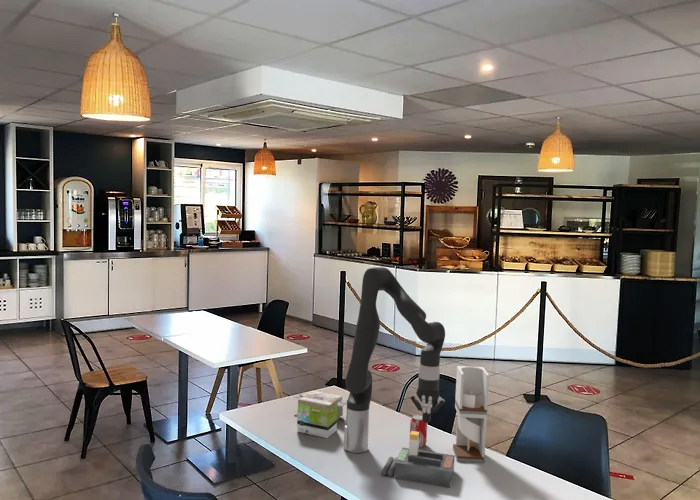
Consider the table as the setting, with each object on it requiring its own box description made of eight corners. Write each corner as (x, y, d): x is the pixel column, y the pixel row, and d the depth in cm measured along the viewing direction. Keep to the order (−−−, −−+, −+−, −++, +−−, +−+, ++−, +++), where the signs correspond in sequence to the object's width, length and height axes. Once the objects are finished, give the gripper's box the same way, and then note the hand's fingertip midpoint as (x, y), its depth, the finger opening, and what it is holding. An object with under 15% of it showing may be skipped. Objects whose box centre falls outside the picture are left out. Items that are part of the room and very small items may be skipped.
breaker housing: (394, 478, 211) (395, 458, 211) (401, 462, 224) (402, 443, 224) (449, 487, 206) (450, 467, 205) (453, 470, 219) (454, 451, 218)
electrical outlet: (339, 425, 258) (338, 403, 258) (290, 415, 275) (290, 394, 274) (354, 418, 268) (353, 397, 267) (306, 408, 284) (305, 388, 284)
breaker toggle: (408, 457, 215) (409, 434, 214) (410, 454, 218) (411, 430, 217) (416, 458, 214) (417, 435, 213) (418, 455, 217) (419, 431, 216)
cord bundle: (380, 476, 212) (381, 470, 212) (389, 460, 226) (389, 455, 226) (392, 477, 211) (392, 472, 211) (399, 462, 225) (399, 457, 225)
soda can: (425, 449, 238) (426, 420, 237) (408, 447, 239) (409, 419, 238) (426, 442, 245) (428, 414, 244) (410, 440, 246) (411, 413, 245)
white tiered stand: (452, 448, 239) (457, 365, 236) (478, 450, 239) (483, 367, 236) (457, 461, 228) (461, 373, 225) (484, 462, 227) (489, 375, 225)
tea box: (296, 432, 250) (297, 399, 249) (306, 424, 260) (307, 392, 258) (327, 439, 245) (329, 404, 244) (337, 430, 254) (338, 397, 253)
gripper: (448, 376, 214) (445, 421, 215) (413, 371, 218) (410, 416, 219) (445, 381, 207) (442, 428, 208) (409, 376, 210) (406, 423, 212)
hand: (426, 422), depth 213 cm, fingers closed
